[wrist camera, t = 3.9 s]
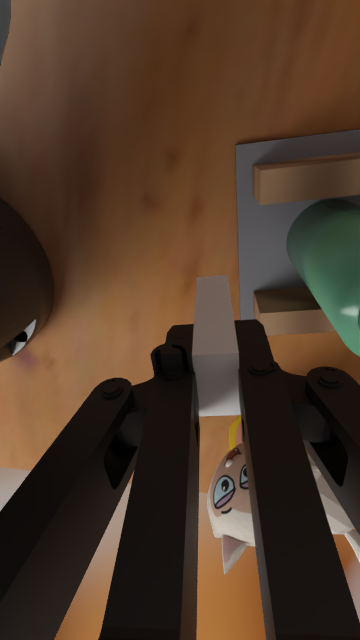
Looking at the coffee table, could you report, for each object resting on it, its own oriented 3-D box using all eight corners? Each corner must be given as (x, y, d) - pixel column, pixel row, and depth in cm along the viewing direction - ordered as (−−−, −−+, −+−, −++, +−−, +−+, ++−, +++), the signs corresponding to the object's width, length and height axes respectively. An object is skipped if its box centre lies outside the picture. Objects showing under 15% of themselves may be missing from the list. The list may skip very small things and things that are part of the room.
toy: (262, 346, 28) (310, 531, 15) (392, 452, 33) (511, 657, 20) (192, 402, 32) (183, 590, 19) (319, 490, 37) (380, 683, 24)
